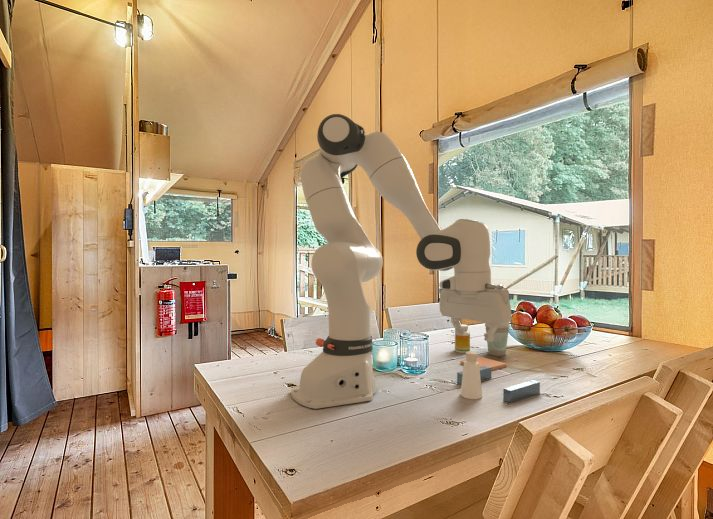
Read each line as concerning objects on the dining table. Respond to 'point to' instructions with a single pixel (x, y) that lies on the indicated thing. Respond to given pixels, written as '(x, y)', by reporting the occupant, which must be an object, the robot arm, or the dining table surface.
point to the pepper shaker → (471, 377)
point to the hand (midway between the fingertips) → (473, 337)
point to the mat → (488, 363)
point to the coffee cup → (498, 340)
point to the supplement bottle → (463, 341)
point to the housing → (511, 392)
